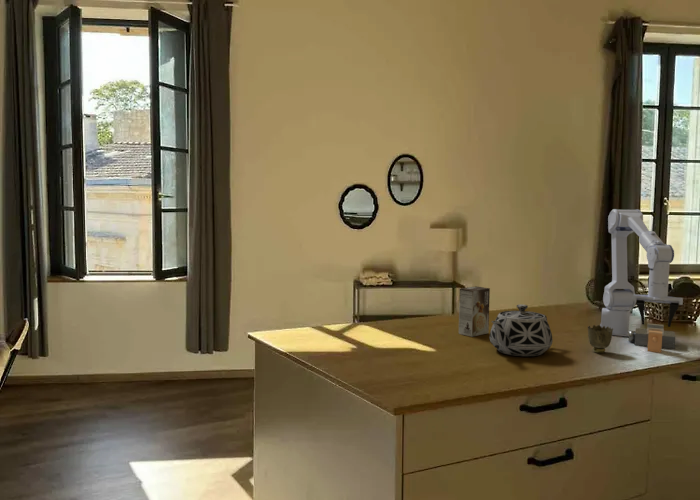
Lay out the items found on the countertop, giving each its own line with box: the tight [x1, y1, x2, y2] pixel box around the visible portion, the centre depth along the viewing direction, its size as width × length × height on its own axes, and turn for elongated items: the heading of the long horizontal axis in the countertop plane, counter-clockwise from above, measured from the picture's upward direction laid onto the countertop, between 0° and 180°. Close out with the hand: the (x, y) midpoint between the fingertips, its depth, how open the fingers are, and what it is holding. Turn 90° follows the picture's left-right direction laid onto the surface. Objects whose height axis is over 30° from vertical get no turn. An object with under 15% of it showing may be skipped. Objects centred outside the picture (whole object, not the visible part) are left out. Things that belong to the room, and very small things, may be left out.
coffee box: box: [458, 285, 491, 338], centre depth 246 cm, size 9×6×16 cm
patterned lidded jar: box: [489, 303, 553, 357], centre depth 220 cm, size 19×31×15 cm, turn 135°
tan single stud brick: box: [647, 330, 662, 353], centre depth 225 cm, size 4×6×6 cm
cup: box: [587, 324, 613, 354], centre depth 222 cm, size 8×7×8 cm
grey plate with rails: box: [628, 323, 676, 350], centre depth 235 cm, size 14×9×6 cm, turn 67°
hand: (655, 325), depth 226 cm, fingers open, 7 cm apart
